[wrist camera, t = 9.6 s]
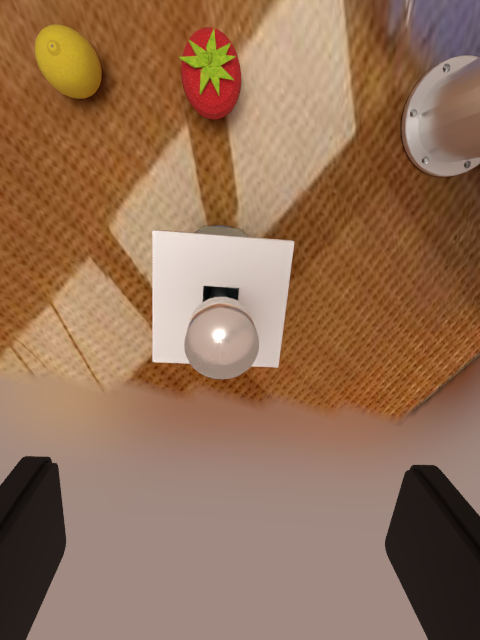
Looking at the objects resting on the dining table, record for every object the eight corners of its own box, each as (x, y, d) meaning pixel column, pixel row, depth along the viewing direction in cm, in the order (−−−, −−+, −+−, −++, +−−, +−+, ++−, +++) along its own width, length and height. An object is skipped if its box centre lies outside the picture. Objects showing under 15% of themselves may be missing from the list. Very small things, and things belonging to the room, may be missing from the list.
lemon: (104, 115, 38) (76, 93, 31) (54, 95, 37) (13, 66, 30) (116, 62, 37) (90, 24, 29) (64, 39, 36) (24, -6, 28)
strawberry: (191, 133, 39) (182, 109, 30) (181, 56, 37) (169, 4, 28) (241, 128, 40) (248, 103, 30) (234, 51, 37) (240, -2, 28)
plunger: (253, 242, 42) (297, 283, 19) (247, 303, 44) (280, 407, 21) (188, 237, 41) (152, 273, 18) (186, 300, 44) (152, 402, 21)
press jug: (254, 327, 48) (275, 390, 31) (175, 323, 47) (152, 386, 30) (264, 228, 43) (294, 241, 27) (177, 221, 42) (152, 230, 26)
